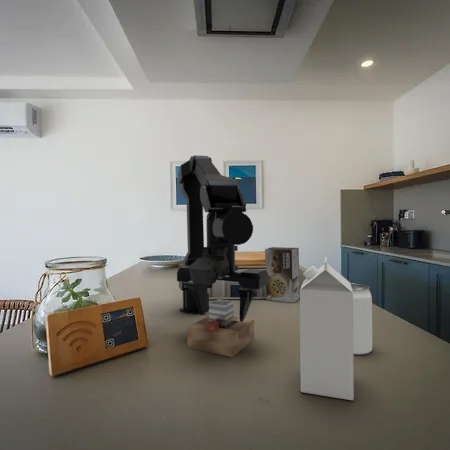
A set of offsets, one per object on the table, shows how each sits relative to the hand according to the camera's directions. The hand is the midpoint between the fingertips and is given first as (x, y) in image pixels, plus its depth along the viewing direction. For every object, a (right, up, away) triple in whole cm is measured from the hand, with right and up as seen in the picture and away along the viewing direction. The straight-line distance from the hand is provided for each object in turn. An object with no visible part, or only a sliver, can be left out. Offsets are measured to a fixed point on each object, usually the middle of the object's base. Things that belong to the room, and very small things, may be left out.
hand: (221, 317), depth 64 cm
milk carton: (+16, -5, -17) cm, 24 cm away
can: (+25, -5, -4) cm, 26 cm away
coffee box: (+19, -5, +34) cm, 39 cm away
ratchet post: (0, -5, 0) cm, 5 cm away
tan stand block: (0, -5, 0) cm, 5 cm away
